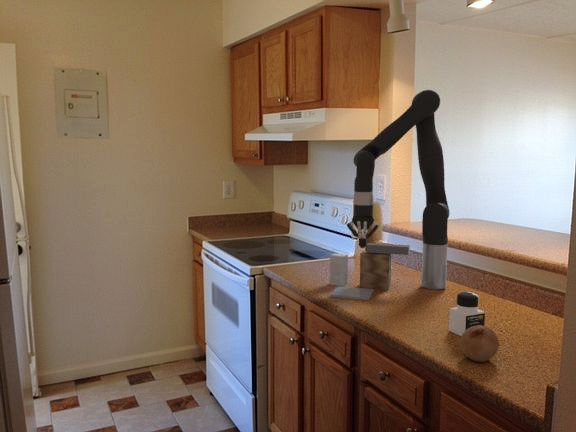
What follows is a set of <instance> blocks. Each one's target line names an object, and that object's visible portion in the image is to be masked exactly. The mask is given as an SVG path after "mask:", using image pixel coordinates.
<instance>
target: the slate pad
mask: <svg viewBox="0 0 576 432" xmlns="http://www.w3.org/2000/svg"><path fill="white" fill-rule="evenodd" d="M374 292H375V289H364V288H360V287H350V286H349V287H347V286H338V285H337V286H336V288H335V289H334V290H333V291H332V292H331V293H330V294H329V295H330V296H329V297H330V298H339V299H340V298H341V299H350V300H364V301H369V300H370V299H371V297H372V295H373V294H374Z"/></svg>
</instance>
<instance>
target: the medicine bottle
mask: <svg viewBox="0 0 576 432" xmlns="http://www.w3.org/2000/svg"><path fill="white" fill-rule="evenodd" d="M456 295H457V296H456V307H450V308H449V323H448V324H449V325H448V331H449V332H451V333H453V334H455V335H457V336H459V337H461V336H462V334H463V333H464V331H465V330H467V329H468V328H470V327H471V326H477V325H481V326H485V320H486V318H485V317H486V312H485V311H484V310H482V309H479V303H480V302H479V301H480V296H479V294H476V293H474V292H470V291H462V292H459V293H458V294H456Z"/></svg>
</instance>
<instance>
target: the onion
mask: <svg viewBox="0 0 576 432" xmlns="http://www.w3.org/2000/svg"><path fill="white" fill-rule="evenodd" d="M459 344H460V348H461V350H462V352H463V355H464V356H465V357H467V358H468V359H470V360H472V361H474V362H479V363H484V362H487V361H489V360H491V359H492V358H493V357H495V356H496V354H497V353H498V350H499V347H500V340H499V337H498V336H497V334H496V332H495V331H494V330H493V329H492V328H490V327H488V326H485V325H484V326H481V325H477V326H471V327H470V328H468V329H467V330H465V331H464V333H463V334H462V336H460V343H459Z"/></svg>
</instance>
